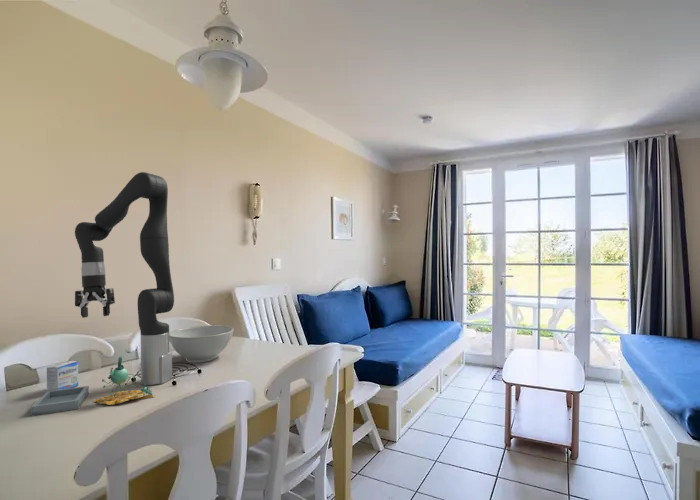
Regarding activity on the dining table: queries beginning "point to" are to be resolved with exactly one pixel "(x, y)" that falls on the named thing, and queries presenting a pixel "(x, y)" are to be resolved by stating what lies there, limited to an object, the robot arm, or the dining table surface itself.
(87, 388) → the tray
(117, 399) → the frog figurine
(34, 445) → the dining table surface
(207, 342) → the decorative bowl
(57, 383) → the medicine box
